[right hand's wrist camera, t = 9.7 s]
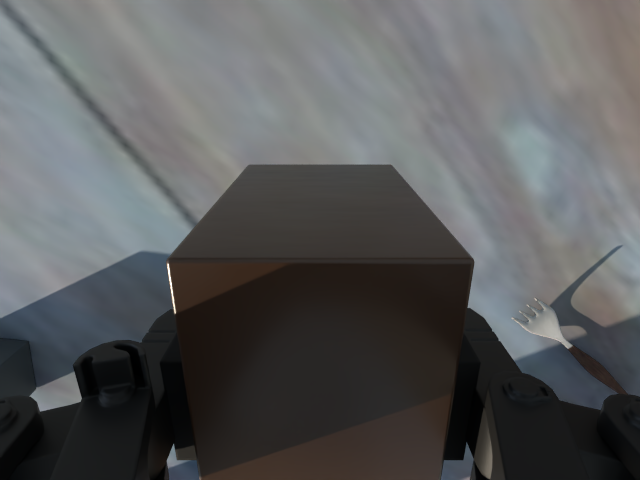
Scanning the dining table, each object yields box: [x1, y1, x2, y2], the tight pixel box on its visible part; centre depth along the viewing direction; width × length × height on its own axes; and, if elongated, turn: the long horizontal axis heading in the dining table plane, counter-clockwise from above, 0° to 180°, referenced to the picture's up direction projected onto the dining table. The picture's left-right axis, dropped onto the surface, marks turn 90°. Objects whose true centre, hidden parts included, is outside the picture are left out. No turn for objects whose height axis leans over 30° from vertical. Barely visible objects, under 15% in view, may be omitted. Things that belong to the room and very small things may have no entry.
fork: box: [512, 298, 627, 394], centre depth 32 cm, size 3×16×2 cm, turn 50°
